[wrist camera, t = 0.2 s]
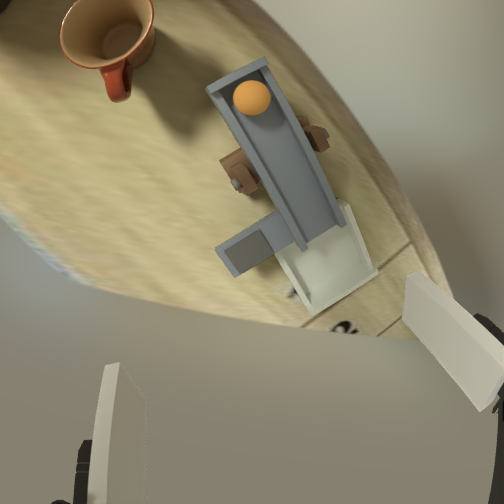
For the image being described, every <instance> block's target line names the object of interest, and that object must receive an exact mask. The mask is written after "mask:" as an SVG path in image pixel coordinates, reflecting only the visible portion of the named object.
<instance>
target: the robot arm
mask: <svg viewBox="0 0 504 504" xmlns="http://www.w3.org/2000/svg"><path fill="white" fill-rule="evenodd" d="M10 1H11V0H0V14H1V12H2V11H3V10H4V9H5V7H6V6H7V5H8V3H9V2H10ZM402 321H403V322H404V323H405V324H406V325H407V326H408V327H409V328H410V330H411V331H412V332H413V333H414V334H415V335H416V336H417V337H418V339H419V340H420V341H421V342H422V343H423V344H424V345H425V346H426V348H427V349H428V350H429V351H430V352H431V353H432V355H433V356H434V357H435V358H436V359H437V360H438V362H439V363H440V364H441V365H442V366H443V367H444V369H445V370H446V371H447V372H448V373H449V375H450V376H451V377H452V378H453V379H454V380H455V382H456V383H457V384H458V385H459V387H460V388H461V389H462V390H463V392H464V393H465V394H466V395H467V396H468V398H469V399H470V400H471V402H472V403H473V404H474V405H475V407H476V408H477V409H478V410H479V412H480V411H482V410H483V409H484V408H486V407H487V406H488V405H489V404H491V402H492V401H493V400H494V398H495V397H496V395H497V394H498V395H499V397H500V399H499V400H498V402H497V403H496V405H495V406H494V408H493V412H492V413H495V411H496V410H497V408H499V409H498V412H497V413H498V434H497V448H496V457H495V466H494V473H493V480H492V486H491V492H490V497H489V502H488V504H504V333H502V332H501V330H500V329H499V328H498V327H496V326H495V324H494V323H493V322H491V321H490V320H489V319H488V318H487V317H484V316H482V315H480V314H478V313H477V314H476V315H474V316H472V315H471V314H469V313H468V312H467V311H466V310H465V309H464V308H463V307H461V306H460V305H459V304H458V303H457V302H456V301H455V300H454V299H453V298H451V297H450V296H449V295H448V294H447V293H446V292H444V291H443V290H442V289H441V288H440V287H438V286H437V285H436V284H435V283H434V282H433V281H431V280H430V279H429V278H428V277H426V276H425V275H424V274H423V273H422V272H420V271H419V270H417V271H415V272H412V273H410V274H407V275H406V281H405V293H404V304H403V313H402ZM146 409H147V399H146V398H145V397H144V395H143V394H142V393H141V391H140V390H139V389H138V387H137V386H136V385H135V383H134V382H133V380H132V379H131V378H130V376H129V375H128V373H127V372H126V371H125V369H124V368H123V366H122V365H121V364H120V362H119V363H114V364H110V365H105V369H104V374H103V379H102V384H101V389H100V395H99V401H98V406H97V413H96V419H95V426H94V434H93V440H84V441H83V443H82V445H81V447H80V449H79V451H78V458H77V463H78V464H77V467H76V472H77V473H76V476H75V486H74V498H73V504H147V484H146ZM52 504H70V503H68V502H66V501H64V500H56V501H54V502H52Z"/></svg>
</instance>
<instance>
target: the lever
mask: <svg viewBox="0 0 504 504" xmlns="http://www.w3.org/2000/svg"><path fill="white" fill-rule="evenodd" d="M268 64H269V63H268V61H267V60H266V58H265V57H263V58H261V59H258V60H256V61H254V62H252V63H250V64H248V65H246V66H244V67H242V68H240V69H238V70H236V71H234V72H232V73H230V74H229V75H227V76H225V77H223V78H221V79H219V80H217V81H216V82H214V83H212V84H210V85H208V86H207V87H206V89H205V90H206V92H207V93H208V95H209V97H210V98H211V100H212V101H213V103H214V105H215V106H216V108H217V109H218V111H219V113H220V114H221V116H222V117H223V119H224V121H225V122H226V124H227V126H228V127H229V129H230V131H231V132H232V134H233V136H234V137H235V139H236V140H237V142H238V144H239V145H240V147H241V149H242V150H243V152H244V154H245V156H246V157H247V159H248V161H249V162H250V164H251V166H252V167H253V169H254V171H255V172H256V174H257V176H258V178H259V179H260V181H261V183H262V185H263V186H264V188H265V190H266V191H267V193H268V195H269V197H270V198H271V200H272V202H273V204H274V205H275V207H276V209H277V210H276V211H274V212H272V213H271V214H269V215H267V216H266V217H264V218H263V219H261V220H259V221H258V222H256V223H254V224H253V225H251V226H249V227H248V228H246V229H245V230H243V231H241V232H240V233H238V234H236V235H235V236H233V237H232V238H230V239H228V240H227V241H225V242H224V243H222V244H220V245H219V246H217V247H216V248H215V251H216V253H217V254H218V256H219V257H220V259H221V260H222V261H223V263H224V264H225V265H226V267H227V268H228V270H229V271H230V272H231V274H232V275H233V277H234V278H236V277H237V276H239V275H241V274H242V273H244V272H246V271H247V270H249V269H251V268H252V267H254V266H256V265H257V264H259V263H260V262H262V261H264V260H265V259H267V258H269V257H270V256H272V255H274V254H275V253H277V252H279V251H280V250H282V249H283V248H285V247H287V246H288V245H290V244H292V243H293V242H295V243H296V245H297V246H298V247H299V248H300V250H301V251H302V252H304V251H306V250H307V249H309V248H308V246H307V244H306V243H308V242H309V241H311V240H313V239H314V238H316V237H317V236H319V235H321V234H322V233H324V232H326V231H327V230H329V229H330V228H332V227H334V226H335V225H338V226H339V227H341V228H342V227H344V226H346V225H347V223H346V221H345V218H344V216H343V214H342V211H341V209H340V207H339V204H338V202H337V200H336V198H335V195H334V193H333V191H332V189H331V187H330V184H329V182H328V180H327V178H326V176H325V174H324V172H323V169H322V167H321V165H320V163H319V161H318V159H317V157H316V155H315V153H314V151H313V149H312V147H311V145H310V143H309V141H308V139H307V137H306V135H305V133H304V131H303V129H302V127H301V125H300V123H299V122H298V120H297V118H296V116H295V114H294V112H293V110H292V108H291V107H290V105H289V103H288V101H287V99H286V97H285V96H284V94H283V92H282V90H281V89H280V87H279V85H278V83H277V82H276V80H275V78H274V76H273V75H272V73H271V71H270V70H269V68H268V66H267V65H268ZM250 80H254V81H258V82H261V83H262V84H264V85H265V86H266V87H267V88H268V90H269V92H270V97H271V99H270V104H269V106H268V107H267V109H266V110H265V111H264V112H262V113H260V114H258V115H252V116H251V115H246V114H243V113H241V112H240V111H239V110H238V109H237V108H236V107H235V105H234V102H233V94H234V91H235V89H236V88H237V87H238V86H239V85H240V84H241V83H243V82H245V81H250Z"/></svg>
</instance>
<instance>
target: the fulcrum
mask: <svg viewBox="0 0 504 504" xmlns="http://www.w3.org/2000/svg"><path fill="white" fill-rule="evenodd" d="M296 118H297V120H298V122H299V123H300V125H301V127H302V129H303V131H304V133H305V135H306V137H307V139H308V141H309V143H310V145H311V147H312V149H313V150H315V151H318V152H323V151H324V150H326V149H328V148H330V146H329V143H328V141H327V138H328V137H329V134H328V132H327V130H326V129H325V128H321V127H318V126H310V124H309V122H308V120H307V118H306V117H305V116H296ZM219 161H220V163H221V164H222V166H223V168H224V169H225V171H226V172H227V174H228V176H229V177H230V179H231V181H230V182H231V183H232V185H233V186H234V188H235V190H236V191H237V190H238V191H239V193H242V192H243V191H246V192H247V194H248V195H249V194H251V193H252V192H254V191H256V190H257V189H259V188H258V186H257V185H256V184H257V183H258V182H260V179H259V178H258V176H257V174H256V172H255V171H254V169H253V167H252V166H251V164H250V162H249V161H248V159H247V157H246V156H245V154H244V152H243V150H242V149H241V148H239V149H237V150H236V151H234V152H232V153H231V154H229V155H227V156H226V157H224V158H222V159H221V160H219Z"/></svg>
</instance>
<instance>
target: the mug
mask: <svg viewBox="0 0 504 504" xmlns="http://www.w3.org/2000/svg"><path fill="white" fill-rule="evenodd" d="M153 19H154V9H153V5H152V2H151V0H77V1H76V2H75V3H74V4H73V6H72V7H71V8H70V9H69V11H68V12H67V14H66V16H65V18H64V20H63V22H62V25H61V29H60V45H61V48H62V51H63V53H64V54H65V56H66V57H67V58H68V59H69V60H70V61H71V62H73V63H74V64H76V65H78V66H81V67H84V68H88V69H100V72H101V75H102V77H103V79H104V81H105V86H106V91H107V94H108V97H109V99H110V100H111V101H112V102H115V103H118V102H123V101H126V100H127V99H129V98H130V95H131V82H132V76H133V70H134V69H136V68H138V67H139V66H141V65H142V64H143V63H144V62H145V61H146V60H147V59H148V57H149V56H150V54H151V52H152V50H153V48H154V44H155V30H154V27H153V25H152V24H153Z"/></svg>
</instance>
